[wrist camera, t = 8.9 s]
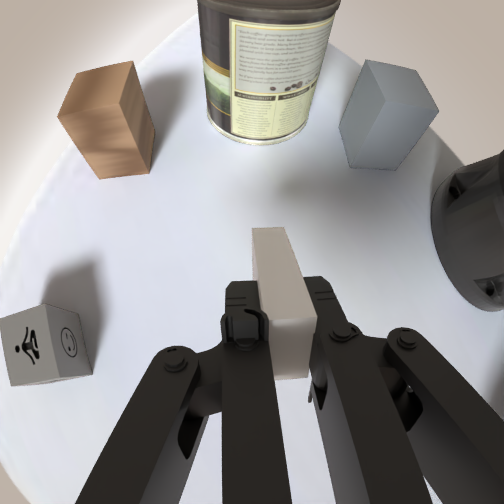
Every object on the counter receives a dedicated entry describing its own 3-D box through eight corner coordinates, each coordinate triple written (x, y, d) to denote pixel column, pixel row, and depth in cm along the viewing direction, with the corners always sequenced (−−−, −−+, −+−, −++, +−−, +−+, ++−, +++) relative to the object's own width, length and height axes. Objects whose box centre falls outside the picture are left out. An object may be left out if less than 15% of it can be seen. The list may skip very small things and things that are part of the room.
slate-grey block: (382, 130, 28) (416, 70, 20) (395, 170, 27) (439, 111, 18) (338, 127, 28) (365, 59, 19) (349, 167, 26) (386, 100, 18)
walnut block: (155, 131, 27) (133, 60, 18) (149, 173, 25) (118, 103, 17) (108, 137, 27) (76, 73, 18) (99, 179, 25) (57, 116, 17)
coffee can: (185, 121, 27) (163, -5, 14) (240, 67, 30) (243, -40, 17) (280, 164, 26) (309, 26, 13) (323, 100, 29) (357, -11, 16)
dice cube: (93, 374, 20) (59, 377, 15) (47, 383, 19) (11, 386, 15) (78, 313, 21) (44, 303, 17) (34, 326, 21) (-2, 319, 16)
